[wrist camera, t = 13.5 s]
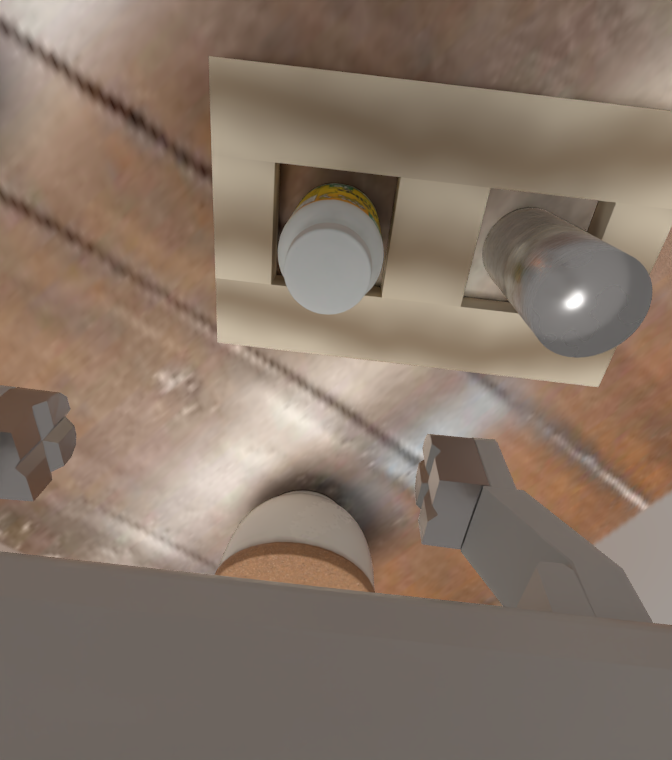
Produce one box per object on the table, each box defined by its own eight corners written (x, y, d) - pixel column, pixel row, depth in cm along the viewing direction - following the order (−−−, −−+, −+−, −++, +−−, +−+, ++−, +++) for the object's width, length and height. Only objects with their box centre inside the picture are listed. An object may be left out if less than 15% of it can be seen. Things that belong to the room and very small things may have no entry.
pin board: (219, 59, 25) (208, 55, 23) (696, 116, 25) (721, 116, 23) (225, 330, 33) (217, 342, 31) (586, 372, 33) (598, 386, 31)
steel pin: (494, 202, 28) (553, 243, 19) (577, 212, 28) (673, 257, 19) (473, 283, 30) (517, 350, 22) (549, 292, 30) (623, 363, 22)
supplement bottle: (276, 224, 29) (241, 268, 21) (338, 160, 27) (327, 181, 19) (335, 286, 31) (324, 349, 22) (397, 230, 29) (411, 277, 20)
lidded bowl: (241, 454, 39) (200, 566, 29) (388, 479, 39) (396, 597, 29) (233, 553, 45) (197, 672, 35) (360, 574, 45) (358, 696, 36)
